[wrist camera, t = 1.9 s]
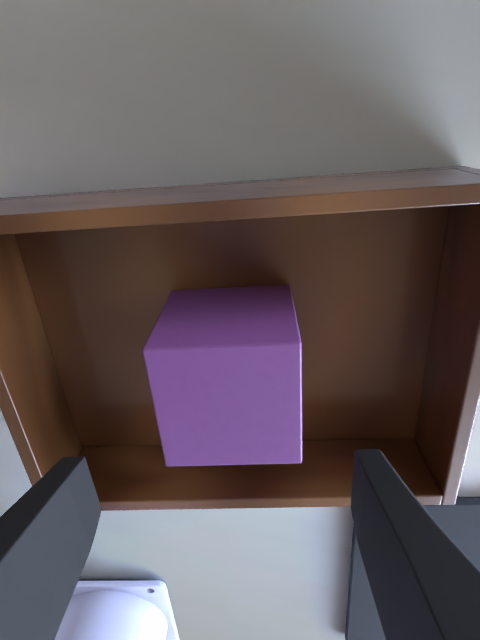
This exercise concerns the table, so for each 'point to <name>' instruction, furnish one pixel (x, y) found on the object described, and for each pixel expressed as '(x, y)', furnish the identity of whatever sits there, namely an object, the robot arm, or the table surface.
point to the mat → (362, 617)
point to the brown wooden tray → (243, 271)
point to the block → (227, 376)
